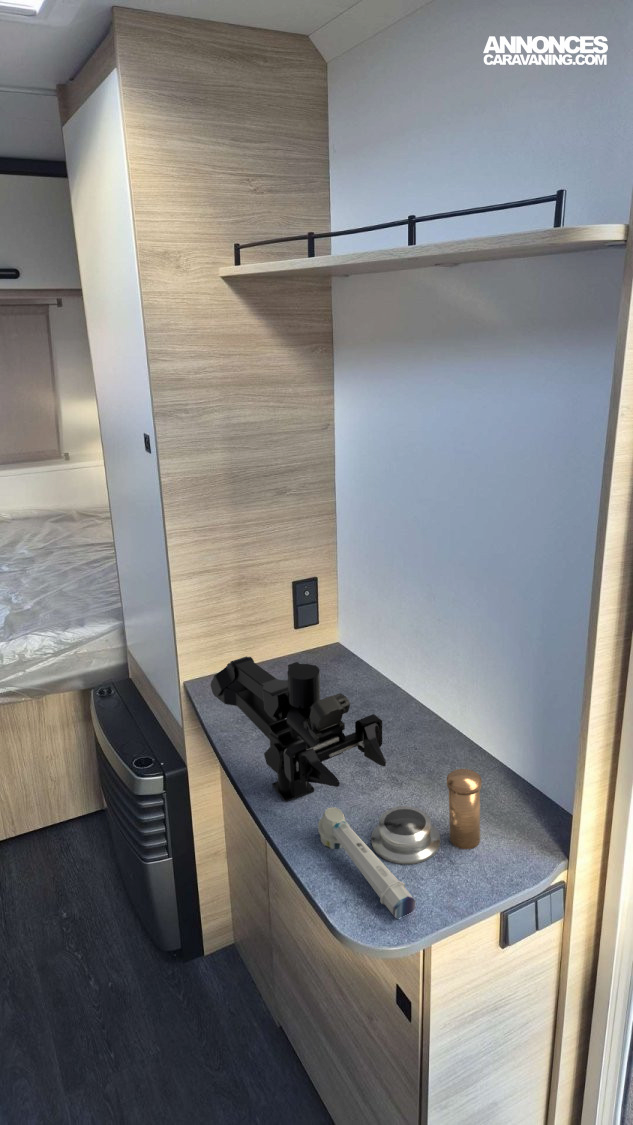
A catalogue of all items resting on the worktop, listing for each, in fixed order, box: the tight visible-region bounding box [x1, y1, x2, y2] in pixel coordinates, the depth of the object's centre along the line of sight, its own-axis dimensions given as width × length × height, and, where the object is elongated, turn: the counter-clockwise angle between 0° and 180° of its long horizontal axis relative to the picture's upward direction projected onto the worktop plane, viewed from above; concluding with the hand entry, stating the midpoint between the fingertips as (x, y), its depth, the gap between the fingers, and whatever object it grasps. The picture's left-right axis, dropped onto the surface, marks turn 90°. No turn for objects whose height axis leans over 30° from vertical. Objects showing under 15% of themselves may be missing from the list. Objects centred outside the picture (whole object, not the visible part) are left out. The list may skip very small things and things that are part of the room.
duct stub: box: [370, 805, 441, 866], centre depth 138 cm, size 12×12×4 cm
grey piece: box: [317, 806, 417, 920], centre depth 131 cm, size 5×7×25 cm
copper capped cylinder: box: [446, 768, 483, 850], centre depth 136 cm, size 6×6×12 cm
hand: (362, 773), depth 129 cm, fingers open, 9 cm apart
